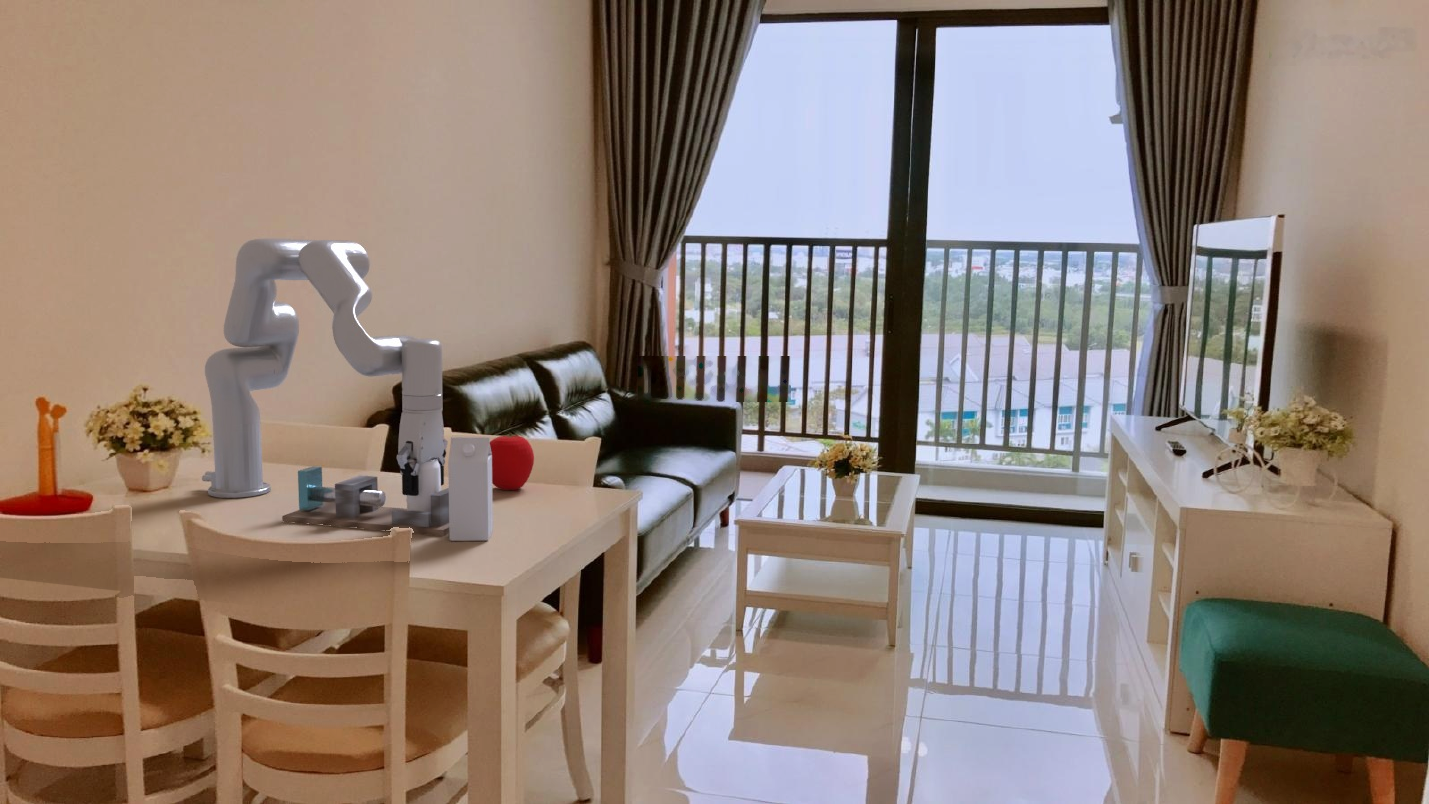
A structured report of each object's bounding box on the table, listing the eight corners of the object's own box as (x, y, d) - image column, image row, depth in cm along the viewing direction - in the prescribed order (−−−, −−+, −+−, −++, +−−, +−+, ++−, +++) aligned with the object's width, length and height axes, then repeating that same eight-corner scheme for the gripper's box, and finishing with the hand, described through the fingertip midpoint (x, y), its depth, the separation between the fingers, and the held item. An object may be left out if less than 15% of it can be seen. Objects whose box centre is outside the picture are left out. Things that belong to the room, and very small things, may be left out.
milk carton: (455, 531, 209) (453, 434, 207) (492, 531, 210) (491, 434, 207) (449, 541, 202) (447, 440, 200) (488, 541, 203) (487, 440, 200)
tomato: (498, 496, 239) (498, 439, 238) (476, 488, 248) (475, 432, 246) (543, 490, 246) (543, 434, 245) (520, 482, 255) (519, 428, 253)
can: (432, 523, 210) (431, 462, 208) (401, 521, 211) (399, 460, 210) (447, 516, 216) (445, 456, 215) (416, 514, 217) (415, 454, 216)
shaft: (299, 509, 218) (297, 470, 217) (314, 504, 223) (313, 466, 222) (374, 516, 214) (373, 476, 213) (388, 510, 218) (387, 471, 217)
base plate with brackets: (282, 521, 214) (280, 482, 213) (322, 507, 227) (320, 470, 226) (443, 536, 206) (443, 495, 205) (475, 520, 218) (475, 481, 217)
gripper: (427, 396, 220) (428, 479, 222) (380, 408, 203) (382, 497, 206) (461, 398, 218) (462, 482, 220) (416, 410, 201) (418, 501, 204)
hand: (423, 489), depth 213 cm, fingers open, 9 cm apart
